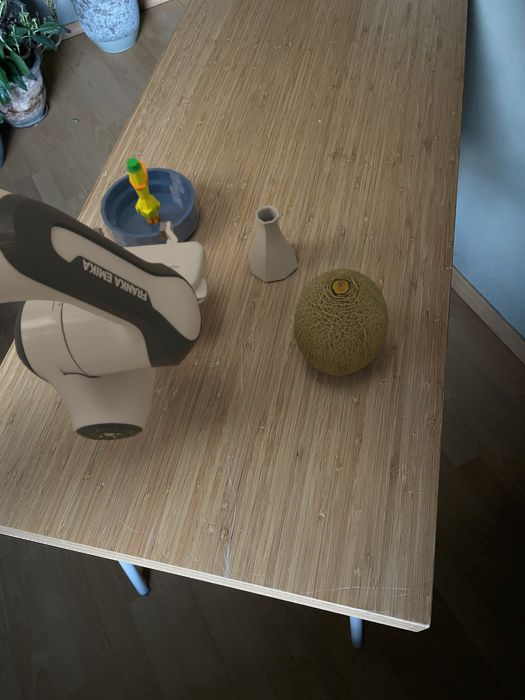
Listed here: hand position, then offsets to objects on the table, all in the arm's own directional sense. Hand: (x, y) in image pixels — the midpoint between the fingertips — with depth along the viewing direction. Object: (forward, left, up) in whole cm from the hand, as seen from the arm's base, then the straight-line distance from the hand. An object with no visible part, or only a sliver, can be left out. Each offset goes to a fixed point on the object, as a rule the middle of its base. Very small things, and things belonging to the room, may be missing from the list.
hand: (131, 227), depth 79 cm
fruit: (+26, -16, -10) cm, 32 cm away
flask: (+18, 0, -10) cm, 21 cm away
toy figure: (0, +10, -9) cm, 13 cm away
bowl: (0, +10, -10) cm, 14 cm away
